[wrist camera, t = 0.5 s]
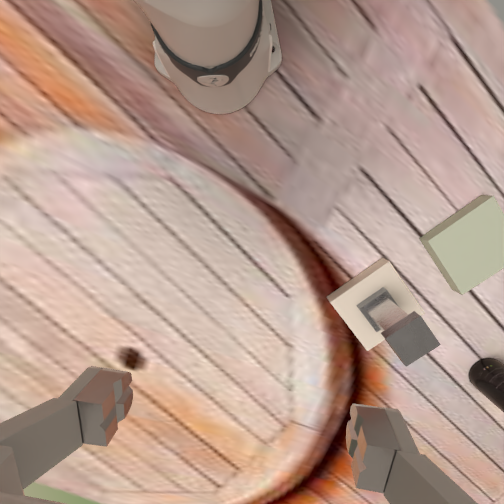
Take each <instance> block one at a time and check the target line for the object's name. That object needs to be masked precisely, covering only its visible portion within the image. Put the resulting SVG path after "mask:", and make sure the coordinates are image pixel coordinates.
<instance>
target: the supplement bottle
mask: <svg viewBox="0 0 504 504" xmlns="http://www.w3.org/2000/svg"><path fill="white" fill-rule="evenodd" d="M470 381H471V383H472V384H473V385H474V386H475V387H476V388H477V389H478V390H479V391H480V392H481V393H482V394H483V395H485V396H486V397H487V398H488V399H489V400H490V401H491V402H493V403H494V404H495V405H496V406H497V407H498V408H499V409H501V410H502V411H503V412H504V364H503V363H501V362H500V361H498V360H495V359H483V360H481V361H479V362H477V363H476V364H475V365H474V366H473V367H472V369H471V371H470Z"/></svg>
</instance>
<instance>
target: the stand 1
mask: <svg viewBox="0 0 504 504" xmlns="http://www.w3.org/2000/svg"><path fill="white" fill-rule="evenodd" d="M382 287H384V288H385V289H386V290H387V291H388V292H389V293H390V295H391V296H392V298H393V299H394V301H395V302H396V303H397V305H398V306H399V307H400V308H401V309H402V310H403V311H404V312H406V313H407V314H408V315H409V314H410V313H412V312H413V311H415V312H416V313H417V314H419V315H420V316H422V315H423V314H425V313H424V311H423V310H422V308H421V307H420V305H419V304H418V302H417V301H416V299H415V298H414V297H413V295H412V294H411V292H410V291H409V289H408V288H407V286H406V285H405V283H404V282H403V280H402V279H401V278H400V276H399V275H398V273H397V272H396V270H395V269H394V267H393V266H392V264H391V263H390V261H388V260H386V259H384V258H381V259H380V260H378V261H377V262H376V263H374V264H373V265H371V266H370V267H368V268H367V269H366V270H364V271H363V272H361V273H360V274H358V275H357V276H356V277H354V278H353V279H351V280H350V281H348V282H347V283H346V284H344V285H343V286H341V287H340V288H338V289H337V290H336V291H334V292H333V293H331V294H330V295H328V296H327V299H328V300H329V301H330V303H331V304H332V305H333V307H334V308H335V309H336V311H337V312H338V313H339V315H340V316H341V317H342V319H343V320H344V321H345V322H346V324H347V325H348V326H349V328H350V329H351V330H352V332H353V333H354V334H355V336H356V337H357V338H358V339H359V341H360V342H361V343H362V345H363V346H364V347H365V349H366V350H367V351H368V350H370V349H371V348H373V347H374V346H376V345H377V344H379V343H381V342H382V341H384V340H385V338H384V337H383V336H382V334H381V333H382V331H381V330H380V331H378V332H376V331H375V330H374V329H373V327H372V326H371V325H370V323H369V322H368V321H367V319H366V318H365V317H364V315H363V314H362V313H361V311H360V310H359V309H358V307H357V306H356V305H358V304H359V303H360V302H362V301H363V300H365V299H366V298H368V297H369V296H371V295H372V294H374V293H375V292H377V291H378V290H379V289H381V288H382Z"/></svg>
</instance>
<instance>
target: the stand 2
mask: <svg viewBox="0 0 504 504" xmlns="http://www.w3.org/2000/svg"><path fill="white" fill-rule="evenodd" d="M419 239H420V241H421V242H422V244H423V245H424V247H425V248H426V250H427V251H428V253H429V254H430V256H431V258H432V259H433V261H434V262H435V264H436V265H437V267H438V268H439V270H440V271H441V273H442V275H443V276H444V278H445V279H446V281H447V282H448V284H449V285H450V287H451V288H452V290H454V291H456V292H458V293H459V294H461V295H463V294H465V293H466V292H468V291H469V290H471V289H472V288H474V287H475V286H477V285H478V284H480V283H481V282H483V281H485V280H486V279H488V278H489V277H491V276H492V275H494V274H495V273H497V272H498V271H500V270H501V269H503V268H504V214H503V212H502V210H501V208H500V207H499V205H498V203H497V201H496V200H495V198H494V196H485V195H481V196H479V197H478V198H477V199H475V200H474V201H472V202H471V203H469V204H468V205H466V206H465V207H464V208H462V209H461V210H459V211H458V212H456V213H455V214H454V215H452V216H451V217H449V218H448V219H446V220H445V221H443V222H442V223H441V224H439V225H438V226H436V227H435V228H433V229H432V230H431V231H429V232H428V233H426V234H425V235H423V236H422V237H421V238H419Z"/></svg>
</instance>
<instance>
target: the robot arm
mask: <svg viewBox="0 0 504 504" xmlns="http://www.w3.org/2000/svg"><path fill="white" fill-rule="evenodd" d="M133 1H134V2H135V3H137V4H138V5H139V6H140V8H141V9H142V10H143V12H144V13H145V15H146V16H147V17H148V19H149V20H150V22H151V26H152V28H153V31H154V34H155V41H153V47H154V50H155V67H156V69H157V71H158V72H159V73H160V74H161V75H163V76H164V77H165V78H167V79H168V80H170V81H172V82H173V83H174V84H175V85H176V86H177V88H178V89H179V91H180V92H181V93H182V95H183V96H184V97H185V98H186V99H187V100H188V101H189V102H190V103H191V104H192V105H194V106H195V107H197V108H199V109H201V110H203V111H205V112H208V113H213V114H227V113H232V112H235V111H237V110H239V109H241V108H243V107H245V106H246V105H247V104H248V103H250V102H251V101H252V100H253V99H254V97H255V96H256V95H257V93H258V92H259V90H260V88H261V87H262V85H263V83H264V81H265V80H266V78H267V77H268V76H270V75H271V74H272V73H273V72H275V71H276V70H277V69H278V68H279V66H280V65H281V62H282V54H281V49H280V44H279V39H278V34H277V28H276V23H275V18H274V13H273V8H272V3H271V0H133ZM272 48H273V49H274V50H275V52H273V53H272ZM131 381H132V377H131V373H129V372H126V371H120V370H114V369H108V368H100V367H94V366H91V367H89V368H87V369H86V370H85V371H84V372H83V373H82V374H81V375H80V376H79V377H78V378H77V379H76V380H75V381H74V382H73V383H72V384H71V385H70V387H69V388H68V389H67V390H66V391H65V392H64V393H63V394H62V395H61V396H60V397H59V398H53V399H51V400H49V401H46V402H44V403H42V404H40V405H38V406H36V407H34V408H32V409H30V410H28V411H25V412H23V413H21V414H19V415H17V416H15V417H13V418H11V419H9V420H6V421H4V422H2V423H0V504H65V503H60V502H54V501H49V500H43V499H38V498H33V497H28V496H25V495H24V491H23V489H24V488H26V487H27V486H28V485H30V484H31V483H32V482H34V481H35V480H36V479H38V478H39V477H40V476H42V475H43V474H44V473H46V472H47V471H48V470H50V469H51V468H53V467H54V466H55V465H57V464H58V463H59V462H61V461H62V460H63V459H65V458H66V457H67V456H69V455H70V454H71V453H73V452H74V451H75V450H77V449H78V448H79V447H81V446H82V445H83V443H84V444H92V445H99V446H107V445H108V444H109V442H110V441H111V439H112V437H113V436H114V434H115V433H116V431H117V430H118V426H117V423H118V422H119V421H121V420H123V419H124V418H125V417H126V415H127V414H128V412H129V410H130V407H131V404H132V399H133V390H132V389H131V388H130V386H129V384H130V383H131ZM350 414H351V418H352V419H351V420H350V421H349V422H348V423H347V429H346V442H347V449H348V453H349V454H350V456H351V457H352V458H353V461H352V466H351V468H352V472H353V477H354V481H355V486H356V488H359V489H364V490H369V491H374V492H379V493H384V496H385V498H386V499H387V500H388V502H389V503H390V504H478V503H476V502H475V501H474V500H473V499H472V498H471V497H470V496H469V495H468V494H467V493H466V492H465V491H463V490H462V489H461V488H460V487H459V486H458V485H457V484H456V483H455V482H454V481H453V480H451V479H450V478H449V477H448V476H447V475H446V474H445V473H444V472H443V471H442V470H441V469H440V468H438V467H437V466H436V465H435V464H434V463H433V462H432V461H431V460H430V459H429V458H428V457H426V456H425V455H423V454H420V453H419V451H418V449H417V447H416V445H415V442H414V440H413V438H412V436H411V434H410V432H409V430H408V427H407V425H406V423H405V421H404V419H403V417H402V415H401V412H400V411H399V410H398V409H392V408H384V407H383V408H381V407H375V406H368V405H360V404H352V406H351V410H350Z"/></svg>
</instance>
